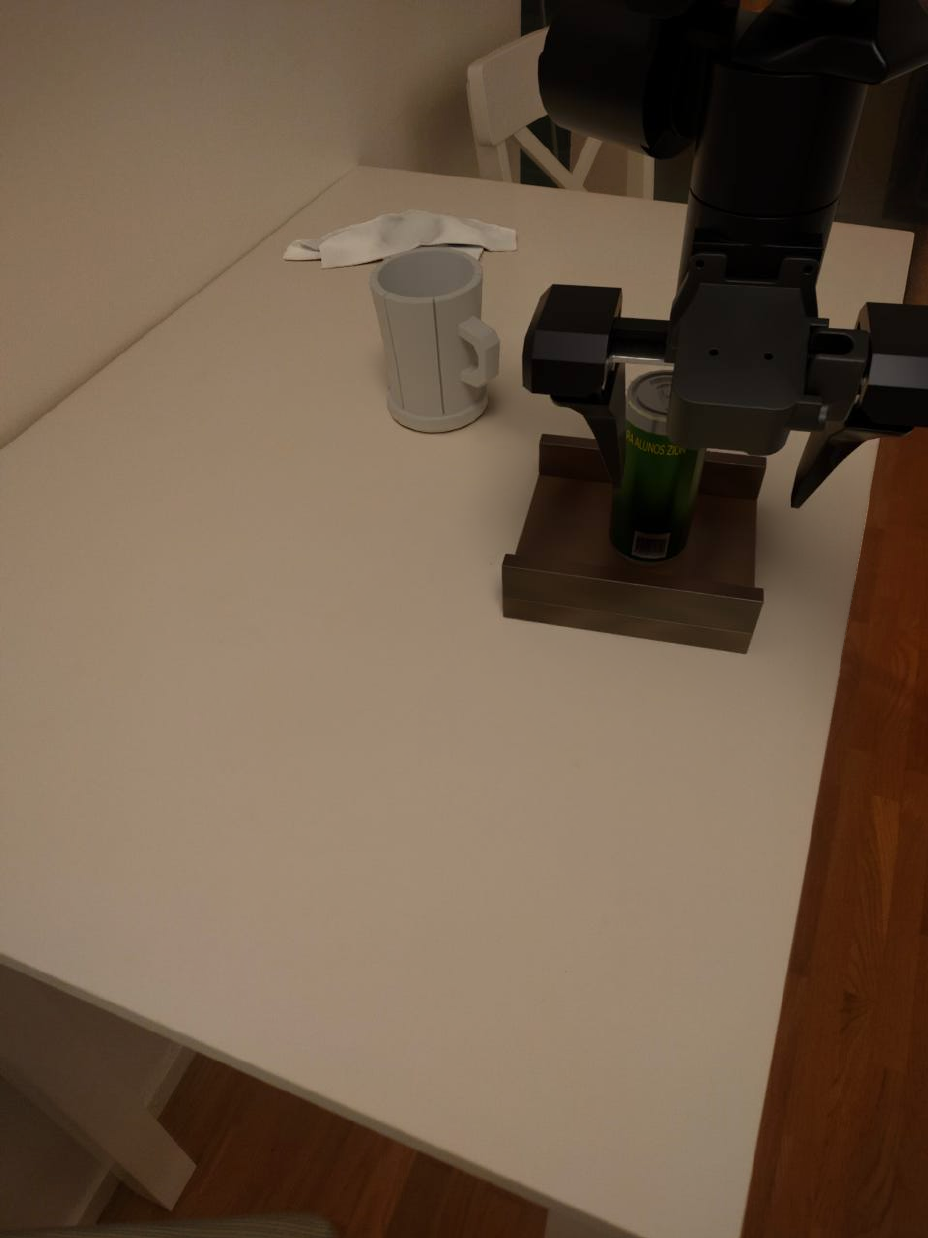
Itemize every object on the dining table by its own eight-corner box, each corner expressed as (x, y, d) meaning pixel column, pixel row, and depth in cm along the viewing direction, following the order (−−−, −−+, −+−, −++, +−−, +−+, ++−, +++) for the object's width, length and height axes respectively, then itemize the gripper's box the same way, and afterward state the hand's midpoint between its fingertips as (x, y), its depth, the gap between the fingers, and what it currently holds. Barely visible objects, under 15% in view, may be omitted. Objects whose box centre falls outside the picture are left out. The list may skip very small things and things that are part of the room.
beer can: (694, 567, 55) (727, 417, 46) (613, 572, 55) (631, 424, 46) (677, 513, 58) (706, 364, 49) (602, 518, 59) (616, 370, 50)
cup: (512, 378, 74) (510, 246, 65) (500, 440, 68) (496, 305, 59) (399, 374, 76) (382, 245, 67) (378, 434, 70) (356, 302, 61)
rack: (752, 510, 61) (767, 456, 57) (746, 654, 52) (763, 602, 49) (540, 485, 64) (541, 432, 61) (502, 617, 56) (501, 565, 52)
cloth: (525, 217, 96) (525, 196, 94) (510, 274, 87) (510, 253, 85) (312, 213, 100) (309, 193, 98) (277, 267, 91) (272, 247, 89)
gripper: (487, 270, 29) (501, 575, 41) (1074, 302, 25) (905, 631, 37) (545, 152, 36) (543, 442, 48) (1012, 163, 32) (886, 476, 44)
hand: (704, 493), depth 44 cm, fingers open, 9 cm apart
